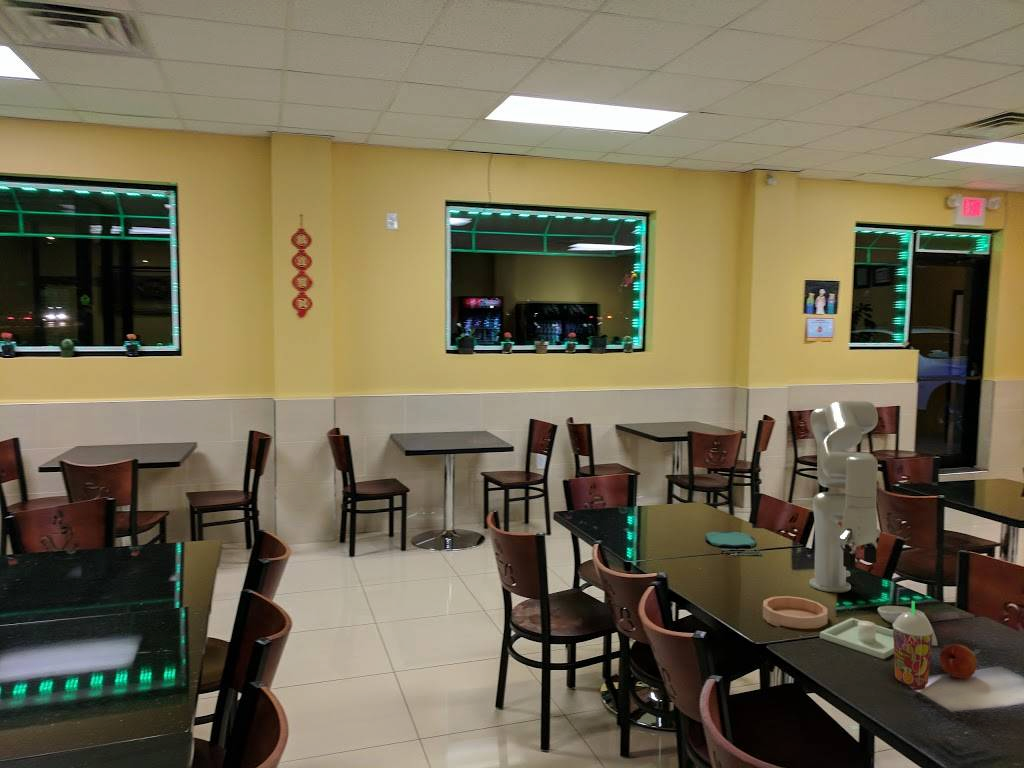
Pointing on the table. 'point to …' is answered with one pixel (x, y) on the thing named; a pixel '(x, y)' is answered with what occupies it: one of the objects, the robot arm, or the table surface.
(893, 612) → the spoon rest
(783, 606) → the bowl
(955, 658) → the fruit
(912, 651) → the smoothie
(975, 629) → the table surface
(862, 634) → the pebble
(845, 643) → the tray
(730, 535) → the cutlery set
